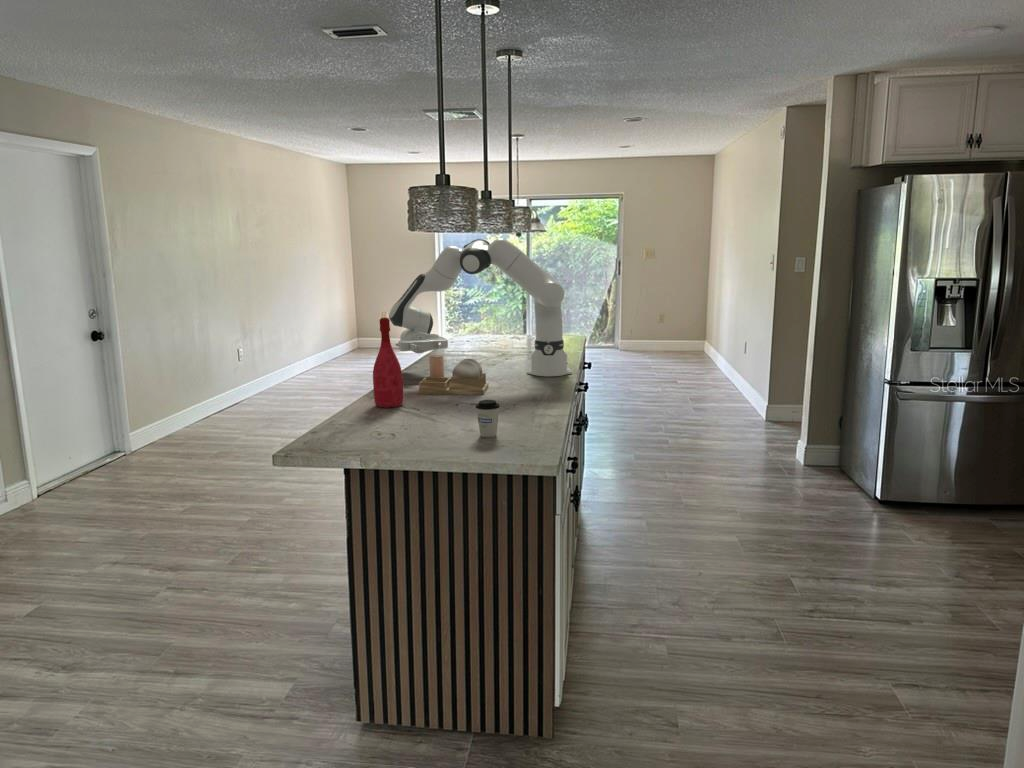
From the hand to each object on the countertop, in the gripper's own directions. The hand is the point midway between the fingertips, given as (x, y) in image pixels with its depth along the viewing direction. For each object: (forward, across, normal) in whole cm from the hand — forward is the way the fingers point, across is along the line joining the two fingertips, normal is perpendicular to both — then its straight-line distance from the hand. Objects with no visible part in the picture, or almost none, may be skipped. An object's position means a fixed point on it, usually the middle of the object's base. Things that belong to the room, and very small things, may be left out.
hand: (428, 347), depth 275 cm
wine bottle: (+37, -26, +14) cm, 47 cm away
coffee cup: (+88, -11, +13) cm, 89 cm away
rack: (+25, +2, +13) cm, 28 cm away
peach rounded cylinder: (+9, 0, +13) cm, 16 cm away
